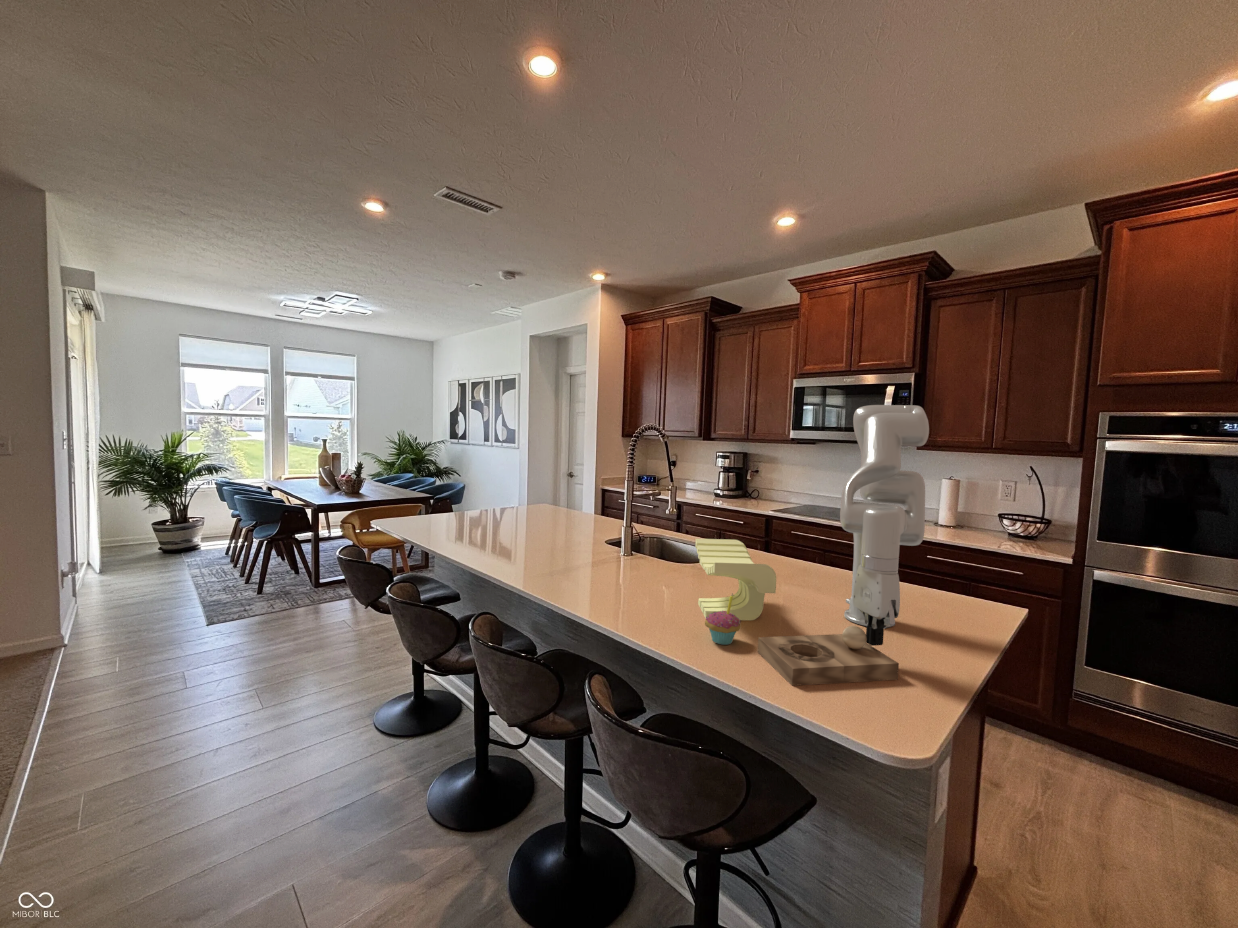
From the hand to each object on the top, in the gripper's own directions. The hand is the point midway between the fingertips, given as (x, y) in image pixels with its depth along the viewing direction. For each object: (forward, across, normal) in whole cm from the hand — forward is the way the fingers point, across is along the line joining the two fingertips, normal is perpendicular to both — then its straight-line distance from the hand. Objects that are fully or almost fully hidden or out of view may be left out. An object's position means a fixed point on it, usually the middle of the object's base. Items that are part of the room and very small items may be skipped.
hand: (874, 643), depth 116 cm
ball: (-2, 0, -5) cm, 5 cm away
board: (+4, 0, -12) cm, 13 cm away
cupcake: (+5, -15, -30) cm, 34 cm away
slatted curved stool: (+5, -35, -20) cm, 41 cm away
